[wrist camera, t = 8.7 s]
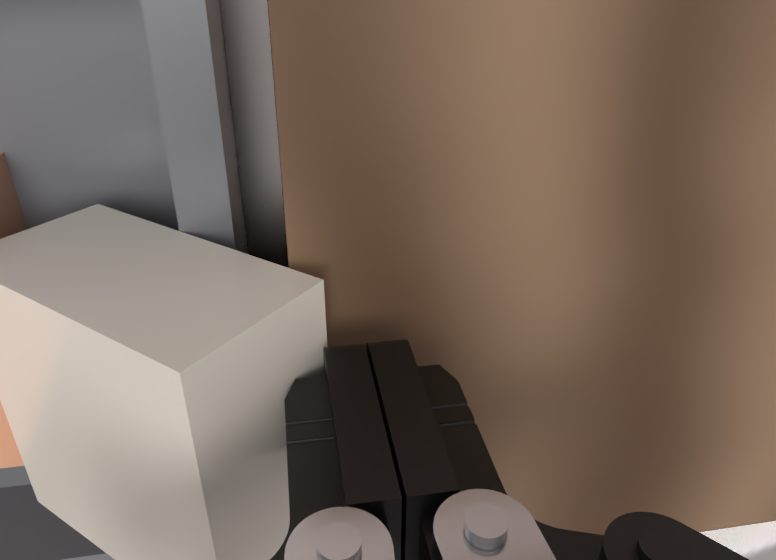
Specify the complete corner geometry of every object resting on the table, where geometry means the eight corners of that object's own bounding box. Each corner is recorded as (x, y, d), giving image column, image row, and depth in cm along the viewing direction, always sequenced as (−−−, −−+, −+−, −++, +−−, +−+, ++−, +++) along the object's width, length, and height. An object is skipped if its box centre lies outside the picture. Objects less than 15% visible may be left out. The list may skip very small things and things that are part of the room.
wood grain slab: (933, -66, 16) (1190, -60, 11) (765, 391, 22) (885, 504, 18) (262, -68, 13) (262, -62, 9) (302, 445, 20) (314, 590, 16)
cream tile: (323, 279, 11) (179, 372, 8) (338, 531, 13) (233, 649, 11) (98, 203, 13) (-53, 257, 11) (149, 424, 16) (37, 501, 14)
